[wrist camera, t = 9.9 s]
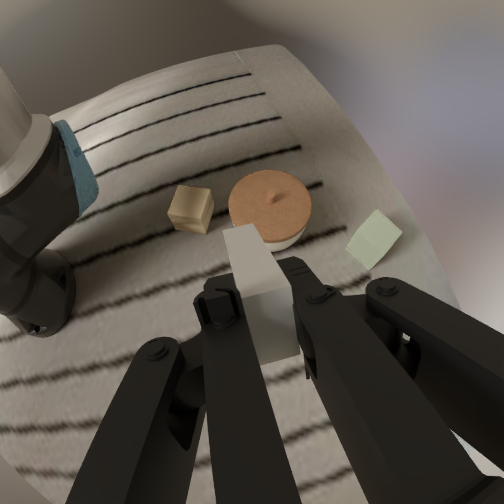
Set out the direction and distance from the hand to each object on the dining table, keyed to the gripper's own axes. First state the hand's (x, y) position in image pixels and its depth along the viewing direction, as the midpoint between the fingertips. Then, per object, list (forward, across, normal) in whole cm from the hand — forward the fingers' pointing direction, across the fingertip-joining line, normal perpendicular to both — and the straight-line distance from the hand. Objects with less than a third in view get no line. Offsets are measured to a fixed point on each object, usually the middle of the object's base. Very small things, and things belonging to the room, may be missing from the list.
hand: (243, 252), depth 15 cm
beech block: (+32, -4, -6) cm, 32 cm away
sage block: (+23, +20, -14) cm, 33 cm away
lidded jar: (+28, +6, -9) cm, 30 cm away
